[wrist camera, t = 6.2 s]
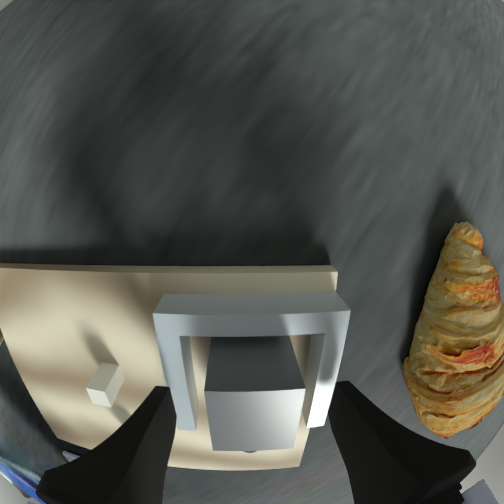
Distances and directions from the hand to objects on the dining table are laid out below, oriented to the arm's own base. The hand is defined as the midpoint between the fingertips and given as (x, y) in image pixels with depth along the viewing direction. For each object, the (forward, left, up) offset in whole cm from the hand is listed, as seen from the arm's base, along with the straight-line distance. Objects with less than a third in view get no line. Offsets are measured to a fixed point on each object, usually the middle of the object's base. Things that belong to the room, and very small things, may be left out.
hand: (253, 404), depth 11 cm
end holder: (0, 0, -3) cm, 3 cm away
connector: (-2, 0, -3) cm, 3 cm away
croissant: (-2, -16, -4) cm, 16 cm away
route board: (-4, +7, -4) cm, 9 cm away
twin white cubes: (-4, +8, -3) cm, 9 cm away
